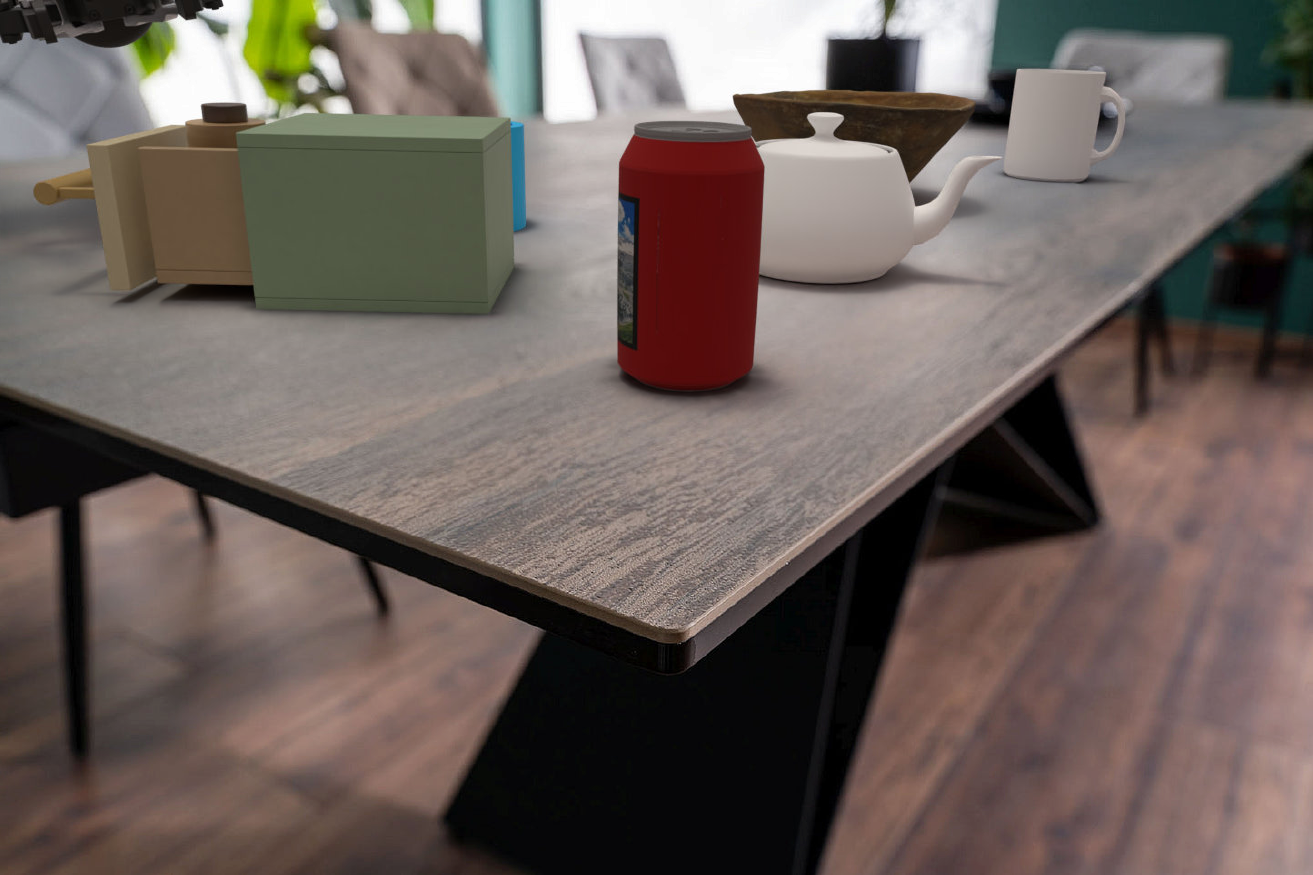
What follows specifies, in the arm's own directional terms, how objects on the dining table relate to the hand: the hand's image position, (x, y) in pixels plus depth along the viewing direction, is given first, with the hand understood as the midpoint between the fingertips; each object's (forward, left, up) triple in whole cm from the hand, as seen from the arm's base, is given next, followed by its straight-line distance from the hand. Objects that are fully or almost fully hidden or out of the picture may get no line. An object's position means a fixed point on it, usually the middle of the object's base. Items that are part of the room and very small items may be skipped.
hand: (118, 14), depth 69 cm
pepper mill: (+8, -6, -14) cm, 17 cm away
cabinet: (+18, -6, -16) cm, 25 cm away
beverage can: (+36, -23, -16) cm, 46 cm away
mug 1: (+19, +17, -16) cm, 30 cm away
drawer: (+7, -6, -15) cm, 18 cm away
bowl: (+53, +33, -16) cm, 64 cm away
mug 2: (+81, +53, -16) cm, 98 cm away
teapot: (+47, +1, -16) cm, 49 cm away
